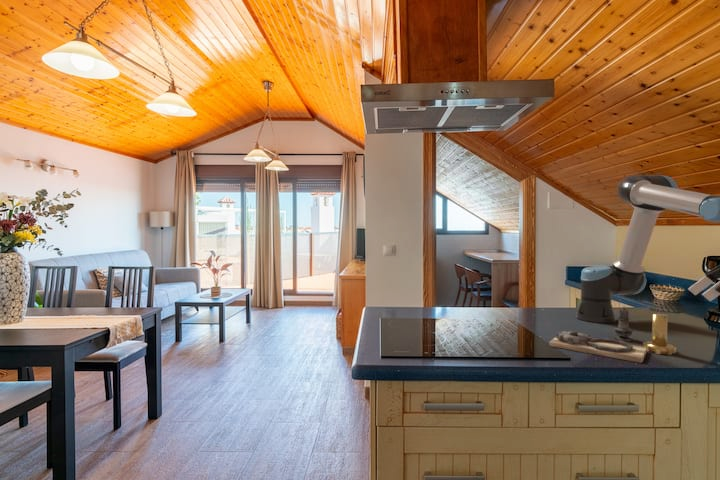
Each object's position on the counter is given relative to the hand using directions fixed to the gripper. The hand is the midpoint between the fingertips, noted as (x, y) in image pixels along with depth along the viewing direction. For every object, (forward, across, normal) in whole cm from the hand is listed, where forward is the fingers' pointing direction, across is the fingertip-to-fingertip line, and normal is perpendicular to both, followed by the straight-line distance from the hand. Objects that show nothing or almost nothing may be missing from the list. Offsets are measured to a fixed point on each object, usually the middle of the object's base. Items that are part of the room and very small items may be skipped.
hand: (698, 295), depth 125 cm
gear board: (+34, -7, +7) cm, 35 cm away
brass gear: (+21, 0, -6) cm, 22 cm away
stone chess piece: (+26, +11, 0) cm, 29 cm away
